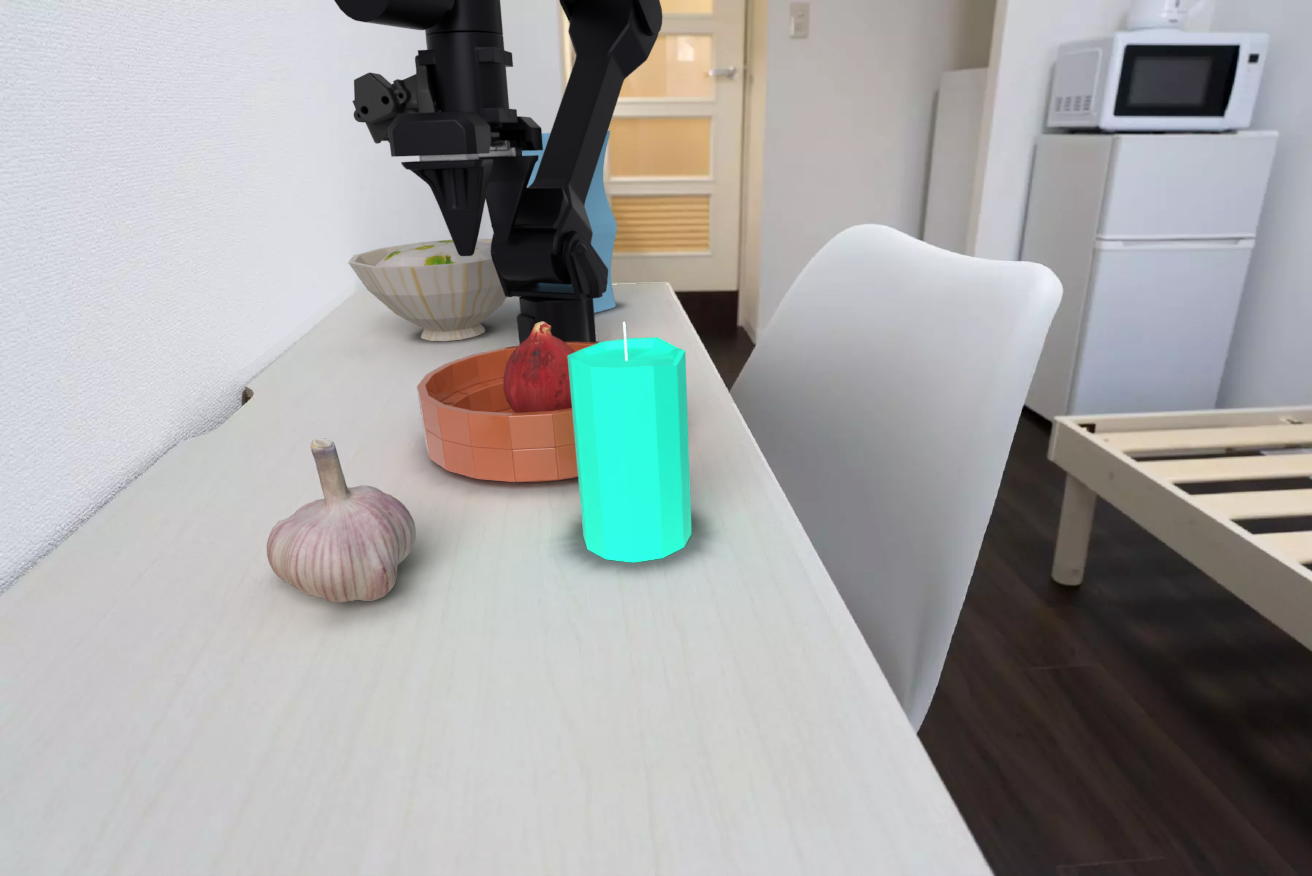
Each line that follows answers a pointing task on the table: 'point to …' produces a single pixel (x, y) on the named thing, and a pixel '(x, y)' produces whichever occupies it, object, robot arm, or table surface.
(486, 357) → the terracotta bowl
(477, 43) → the robot arm
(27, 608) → the table surface
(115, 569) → the table surface
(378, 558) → the garlic bulb
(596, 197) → the vase
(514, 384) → the onion
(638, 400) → the candle
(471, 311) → the bowl
